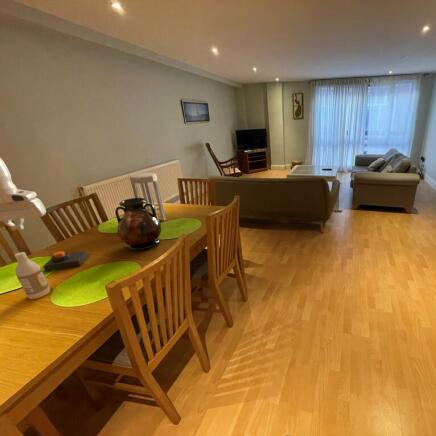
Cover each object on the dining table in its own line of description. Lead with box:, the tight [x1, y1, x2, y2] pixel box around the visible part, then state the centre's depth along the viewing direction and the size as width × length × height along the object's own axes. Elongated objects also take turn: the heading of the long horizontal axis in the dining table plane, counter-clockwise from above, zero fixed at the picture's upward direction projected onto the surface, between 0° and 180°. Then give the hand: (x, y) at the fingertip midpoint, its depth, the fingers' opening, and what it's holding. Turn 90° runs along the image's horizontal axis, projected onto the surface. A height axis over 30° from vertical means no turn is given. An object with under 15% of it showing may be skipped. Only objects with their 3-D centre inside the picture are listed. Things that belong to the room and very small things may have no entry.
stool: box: [129, 172, 167, 221], centre depth 169 cm, size 16×16×35 cm
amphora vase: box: [114, 197, 162, 252], centre depth 138 cm, size 22×22×28 cm
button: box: [53, 250, 65, 258], centre depth 122 cm, size 4×4×2 cm
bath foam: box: [14, 251, 51, 300], centre depth 99 cm, size 7×7×20 cm
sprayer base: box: [43, 250, 89, 272], centre depth 124 cm, size 14×11×5 cm
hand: (18, 229), depth 96 cm, fingers closed
